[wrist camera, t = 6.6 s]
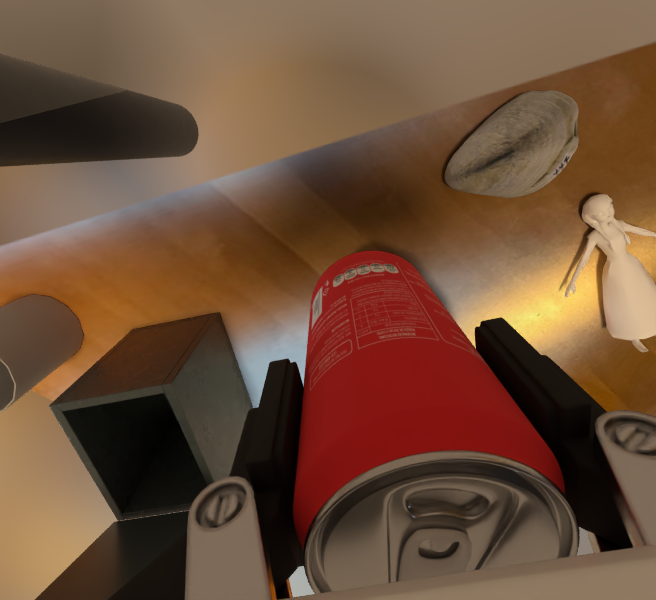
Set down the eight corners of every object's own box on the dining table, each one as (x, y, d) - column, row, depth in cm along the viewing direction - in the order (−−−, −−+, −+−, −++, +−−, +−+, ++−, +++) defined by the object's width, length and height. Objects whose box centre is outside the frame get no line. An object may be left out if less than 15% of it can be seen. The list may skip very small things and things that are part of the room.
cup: (91, 358, 45) (28, 413, 35) (24, 361, 45) (-56, 416, 36) (69, 292, 41) (-7, 334, 32) (-3, 296, 42) (-99, 338, 32)
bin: (132, 329, 43) (48, 405, 30) (219, 312, 42) (170, 383, 29) (174, 422, 48) (117, 521, 35) (253, 408, 47) (224, 505, 34)
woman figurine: (609, 377, 40) (547, 230, 35) (584, 357, 44) (525, 224, 39) (727, 326, 37) (676, 161, 33) (688, 310, 41) (639, 163, 37)
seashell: (459, 223, 38) (477, 233, 34) (426, 146, 36) (440, 146, 31) (575, 161, 36) (611, 163, 31) (549, 75, 33) (585, 63, 29)
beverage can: (432, 248, 17) (648, 454, 6) (412, 350, 19) (542, 652, 7) (315, 239, 16) (295, 434, 5) (308, 343, 18) (283, 642, 7)
